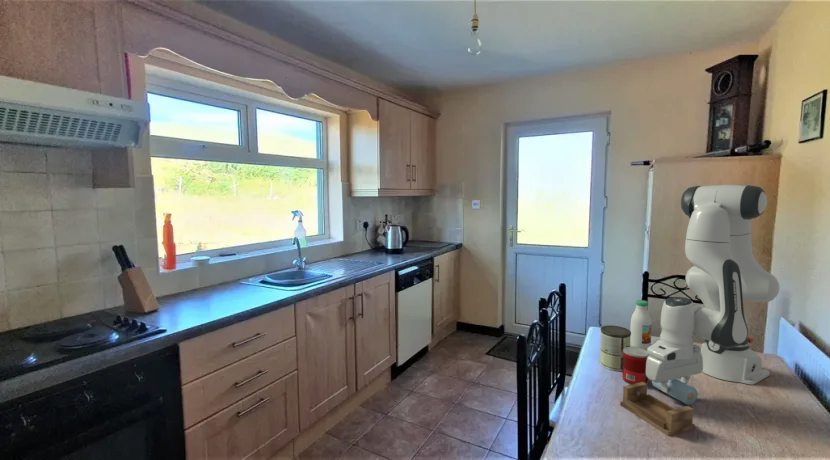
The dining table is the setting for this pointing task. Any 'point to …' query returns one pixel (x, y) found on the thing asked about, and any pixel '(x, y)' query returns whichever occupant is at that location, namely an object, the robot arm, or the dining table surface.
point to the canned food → (634, 365)
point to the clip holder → (656, 410)
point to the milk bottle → (641, 326)
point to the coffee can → (613, 346)
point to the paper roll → (679, 391)
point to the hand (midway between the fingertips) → (674, 389)
